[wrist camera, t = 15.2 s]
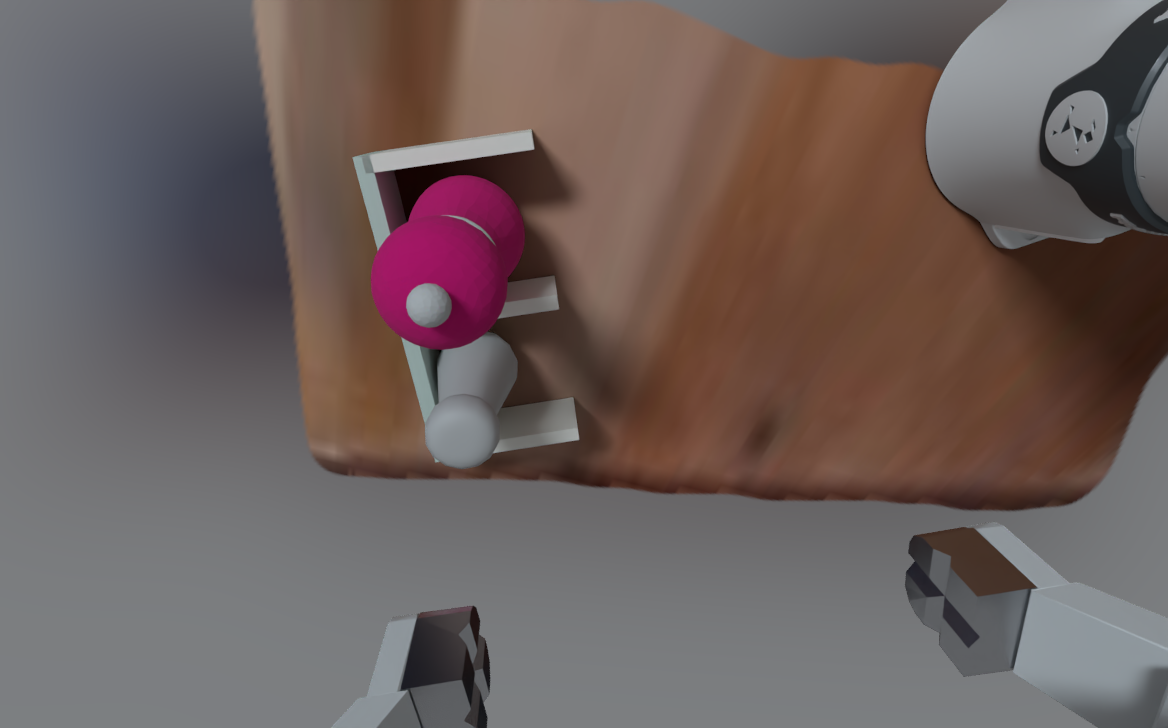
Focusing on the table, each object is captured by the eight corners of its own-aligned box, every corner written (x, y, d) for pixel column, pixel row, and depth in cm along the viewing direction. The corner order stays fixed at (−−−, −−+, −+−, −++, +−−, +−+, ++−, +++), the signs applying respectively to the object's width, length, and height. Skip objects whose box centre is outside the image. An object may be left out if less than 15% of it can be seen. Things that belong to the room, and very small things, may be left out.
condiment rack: (531, 129, 39) (531, 131, 35) (575, 408, 48) (579, 439, 43) (373, 151, 39) (352, 157, 35) (445, 428, 47) (435, 462, 43)
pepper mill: (399, 227, 41) (290, 319, 23) (465, 145, 39) (405, 175, 21) (481, 294, 43) (442, 427, 25) (547, 219, 42) (556, 304, 23)
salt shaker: (527, 331, 45) (524, 410, 33) (508, 397, 47) (500, 494, 35) (449, 311, 44) (418, 386, 32) (434, 380, 46) (399, 475, 34)
